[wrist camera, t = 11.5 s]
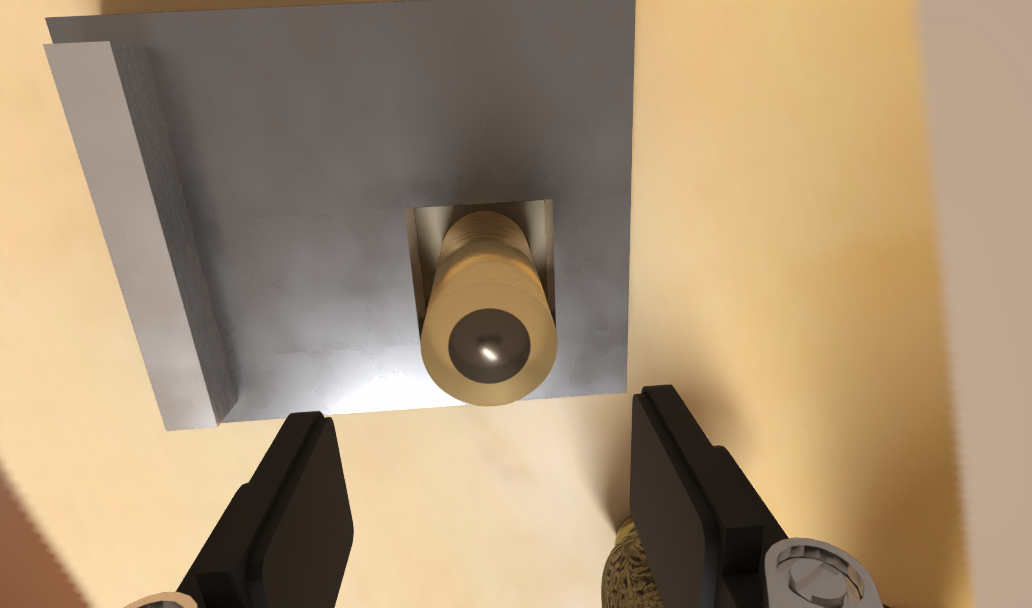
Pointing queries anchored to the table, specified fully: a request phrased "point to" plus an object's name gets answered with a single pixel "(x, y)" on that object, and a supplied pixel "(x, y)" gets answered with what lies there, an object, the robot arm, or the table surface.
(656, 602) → the cup
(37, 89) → the table surface
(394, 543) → the table surface
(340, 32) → the plate
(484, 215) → the brass bushing
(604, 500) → the table surface
